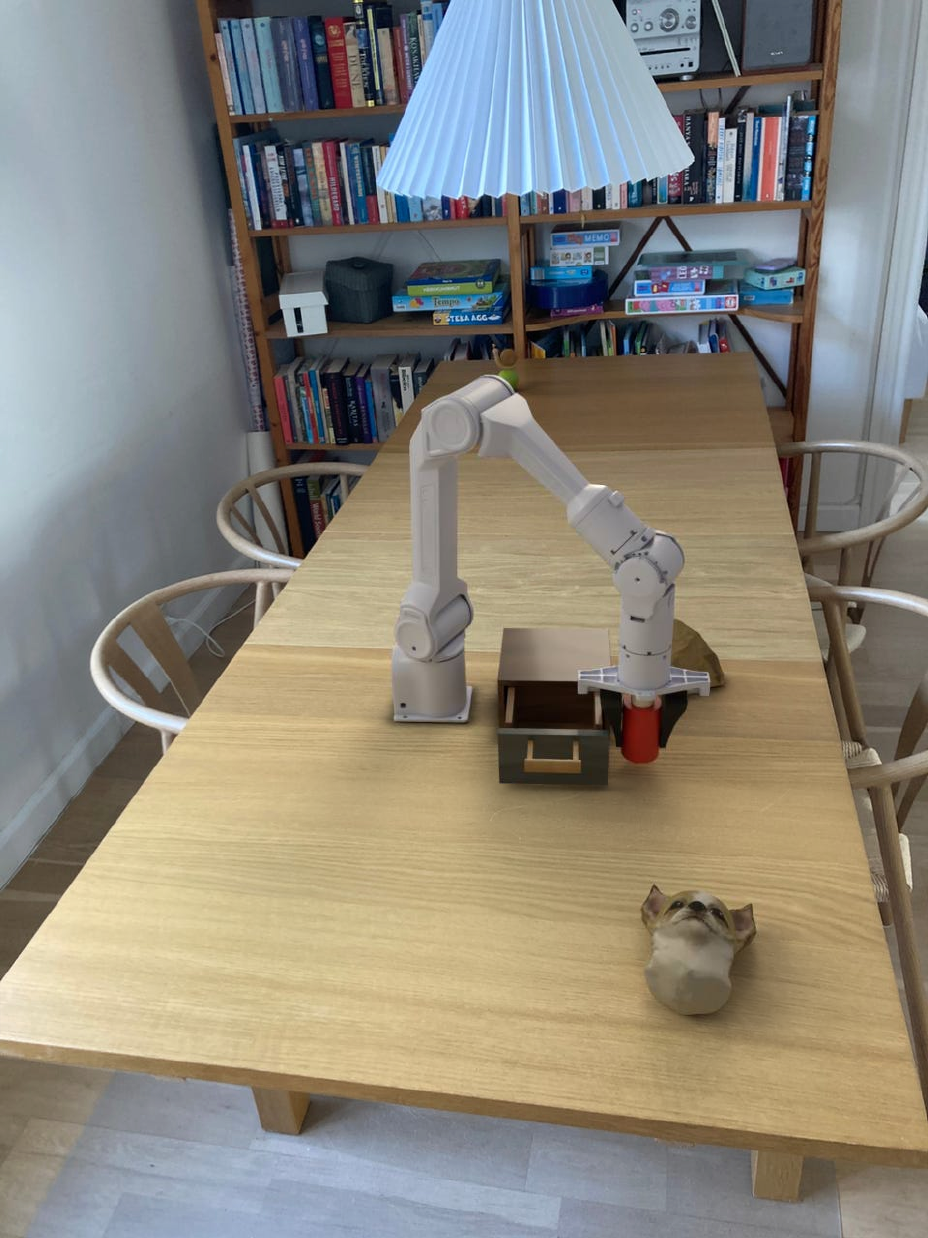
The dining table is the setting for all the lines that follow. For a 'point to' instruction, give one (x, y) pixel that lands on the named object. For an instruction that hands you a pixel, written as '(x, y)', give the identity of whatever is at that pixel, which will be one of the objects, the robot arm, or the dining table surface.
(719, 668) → the rock
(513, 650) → the cabinet
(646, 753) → the red plastic cylinder
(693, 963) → the ceramic sculpture
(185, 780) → the dining table surface
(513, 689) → the drawer
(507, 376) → the snail figurine
